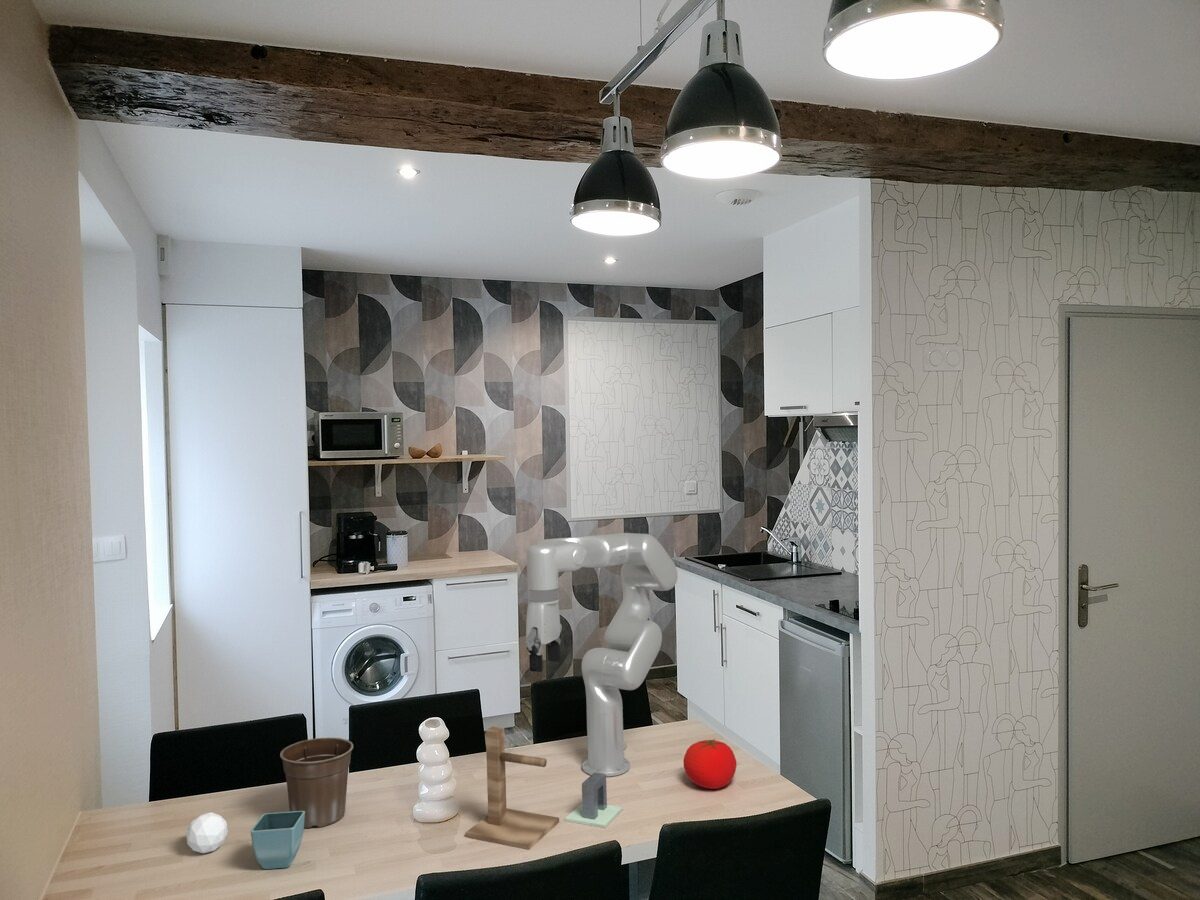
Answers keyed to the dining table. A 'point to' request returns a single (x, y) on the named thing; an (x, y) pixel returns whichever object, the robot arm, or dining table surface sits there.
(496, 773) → the stand
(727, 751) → the tomato
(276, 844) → the flower pot
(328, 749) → the plant pot
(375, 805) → the dining table surface
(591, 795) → the link
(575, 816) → the mat
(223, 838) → the white faceted egg
